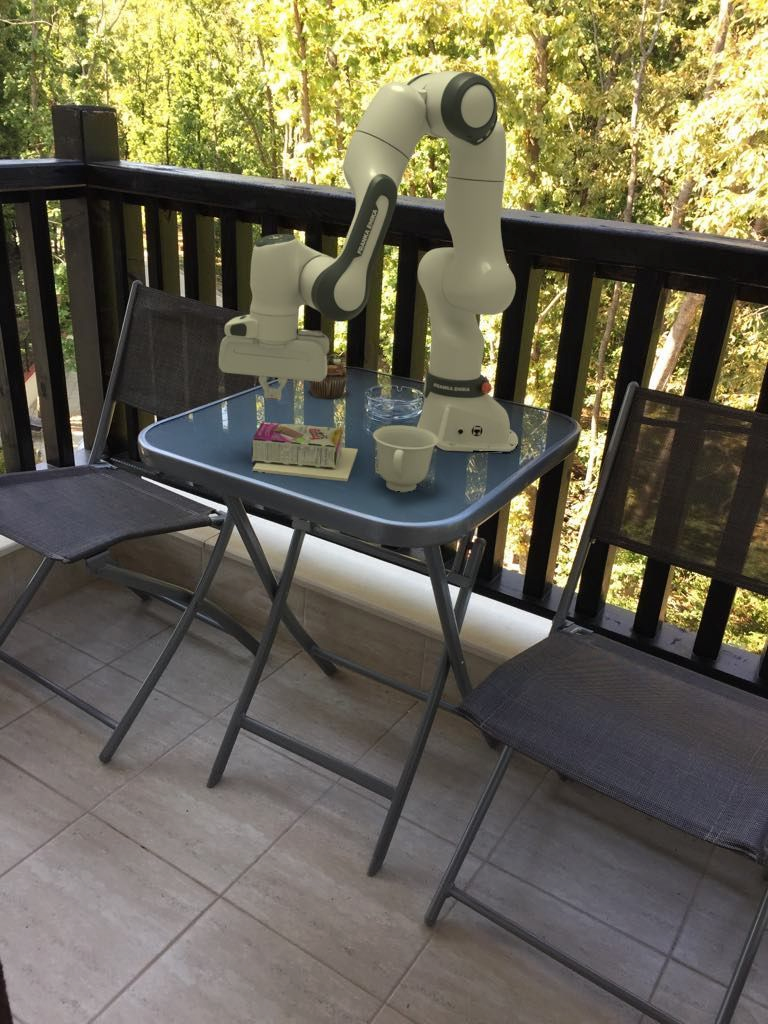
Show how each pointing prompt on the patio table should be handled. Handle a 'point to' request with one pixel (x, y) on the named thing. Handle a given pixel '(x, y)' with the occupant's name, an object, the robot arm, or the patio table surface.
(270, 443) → the candy bar box
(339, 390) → the cupcake
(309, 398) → the patio table surface
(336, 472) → the plain beige board
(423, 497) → the patio table surface
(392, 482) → the teacup
